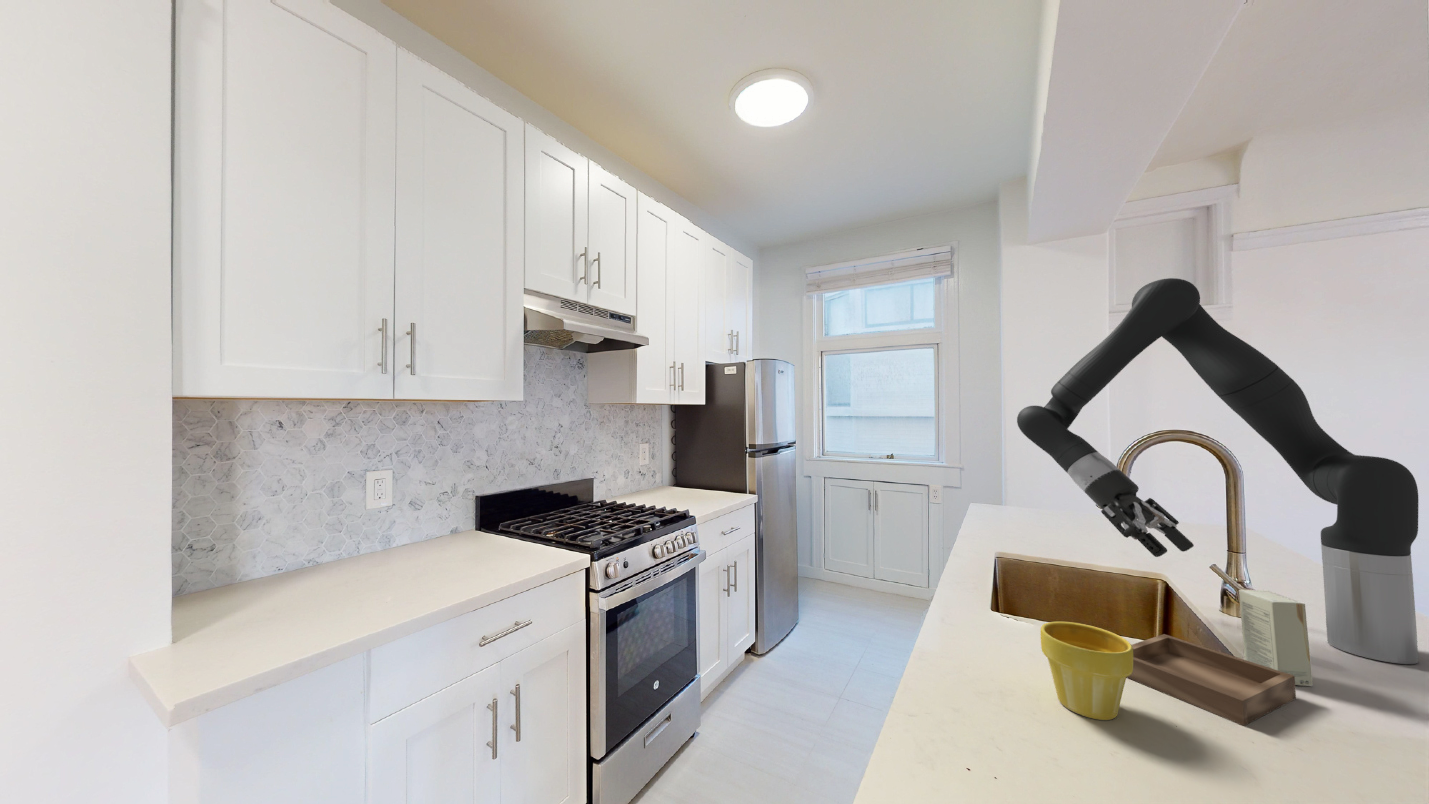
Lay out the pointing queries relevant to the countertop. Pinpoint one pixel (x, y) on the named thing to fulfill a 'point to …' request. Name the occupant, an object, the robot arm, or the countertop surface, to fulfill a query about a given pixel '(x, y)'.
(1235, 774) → the countertop surface
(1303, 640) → the skincare box
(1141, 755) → the countertop surface
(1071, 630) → the plant pot
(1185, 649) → the walnut tray
